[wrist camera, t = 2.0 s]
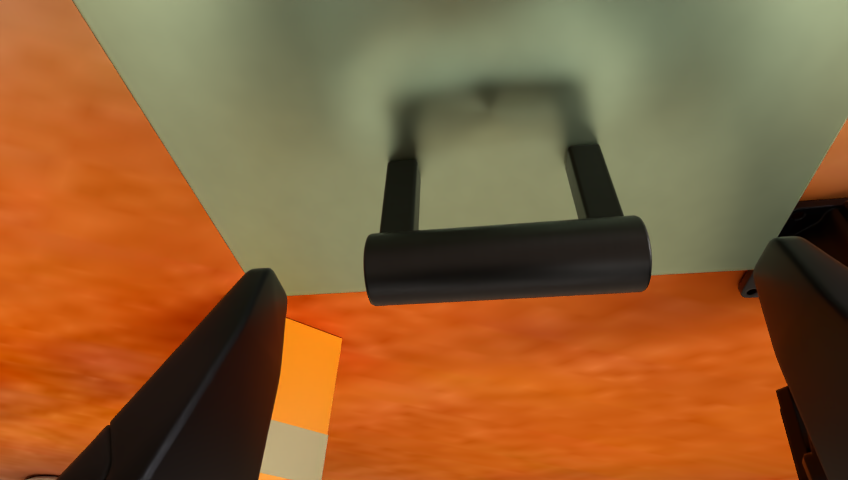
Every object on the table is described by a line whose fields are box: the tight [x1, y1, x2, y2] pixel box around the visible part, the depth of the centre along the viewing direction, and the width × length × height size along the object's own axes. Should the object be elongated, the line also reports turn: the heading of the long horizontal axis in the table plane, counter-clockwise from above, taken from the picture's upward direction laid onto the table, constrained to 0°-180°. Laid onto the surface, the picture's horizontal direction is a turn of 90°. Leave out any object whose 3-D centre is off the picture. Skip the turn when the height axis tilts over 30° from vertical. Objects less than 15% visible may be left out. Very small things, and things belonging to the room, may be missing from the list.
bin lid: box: [72, 0, 848, 306], centre depth 9 cm, size 12×15×4 cm
